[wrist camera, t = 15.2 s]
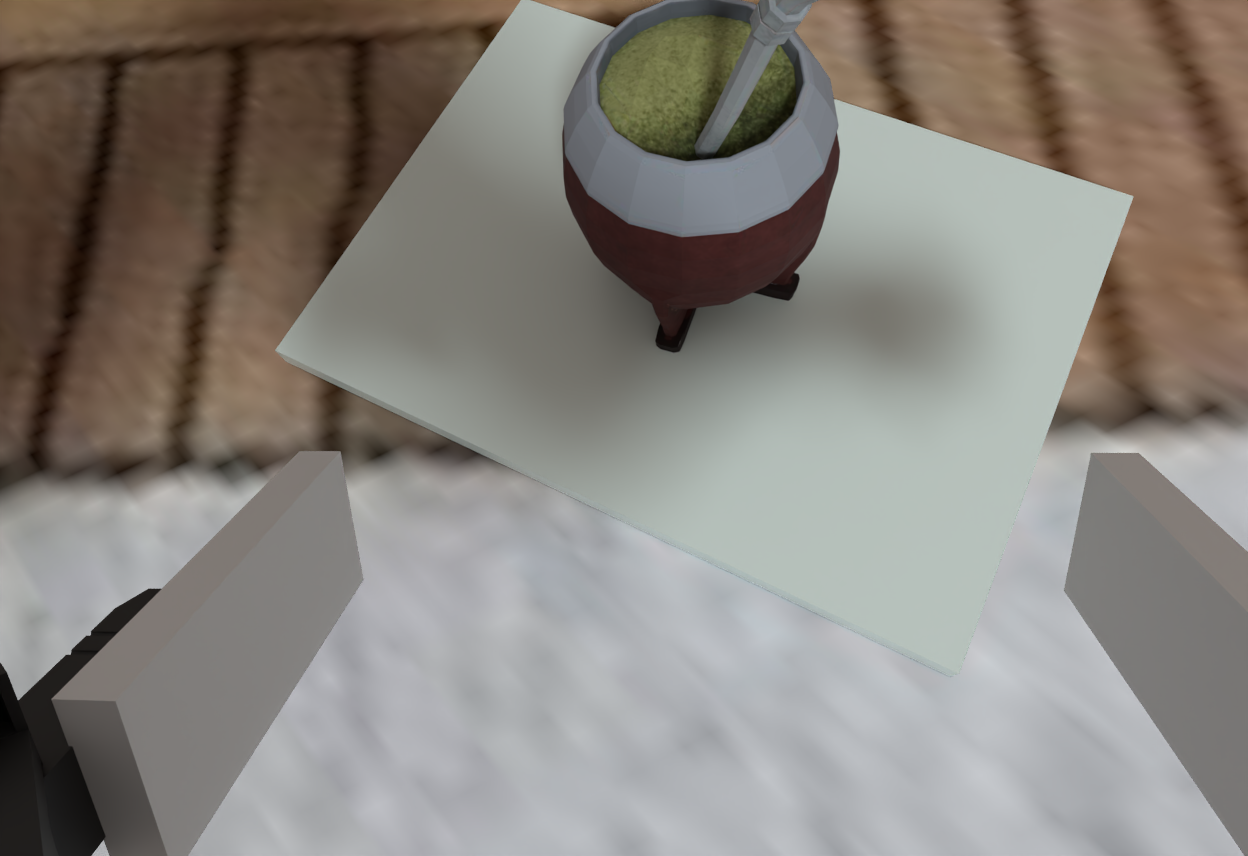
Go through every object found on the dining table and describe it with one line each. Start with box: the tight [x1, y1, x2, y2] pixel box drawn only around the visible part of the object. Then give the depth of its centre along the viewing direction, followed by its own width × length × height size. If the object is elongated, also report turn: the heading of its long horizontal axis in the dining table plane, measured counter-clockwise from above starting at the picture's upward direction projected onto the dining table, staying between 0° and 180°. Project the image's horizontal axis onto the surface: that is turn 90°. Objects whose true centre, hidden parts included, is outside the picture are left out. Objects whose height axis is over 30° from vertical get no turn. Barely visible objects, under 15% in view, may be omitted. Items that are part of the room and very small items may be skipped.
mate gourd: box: [562, 0, 840, 353], centre depth 20 cm, size 8×8×15 cm
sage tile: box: [275, 0, 1133, 677], centre depth 27 cm, size 22×16×1 cm
